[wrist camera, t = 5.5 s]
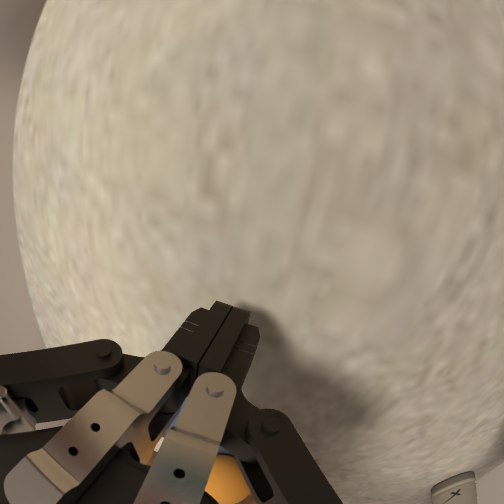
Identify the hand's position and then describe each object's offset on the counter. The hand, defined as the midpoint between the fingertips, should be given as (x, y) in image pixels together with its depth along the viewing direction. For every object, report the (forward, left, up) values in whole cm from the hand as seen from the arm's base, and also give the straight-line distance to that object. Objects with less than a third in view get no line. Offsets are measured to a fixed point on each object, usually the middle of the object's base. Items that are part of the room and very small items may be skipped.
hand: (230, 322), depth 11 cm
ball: (-3, +19, +1) cm, 19 cm away
